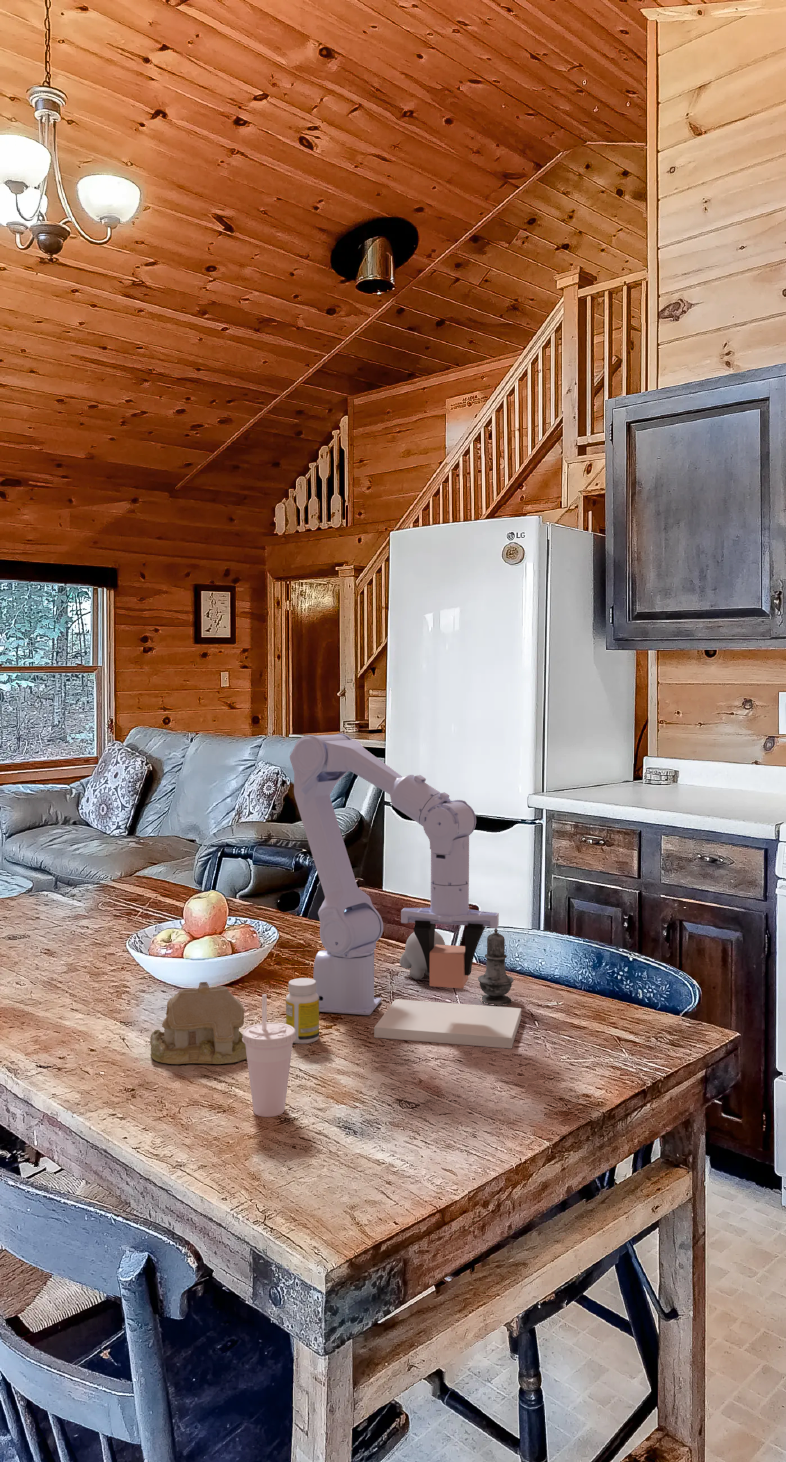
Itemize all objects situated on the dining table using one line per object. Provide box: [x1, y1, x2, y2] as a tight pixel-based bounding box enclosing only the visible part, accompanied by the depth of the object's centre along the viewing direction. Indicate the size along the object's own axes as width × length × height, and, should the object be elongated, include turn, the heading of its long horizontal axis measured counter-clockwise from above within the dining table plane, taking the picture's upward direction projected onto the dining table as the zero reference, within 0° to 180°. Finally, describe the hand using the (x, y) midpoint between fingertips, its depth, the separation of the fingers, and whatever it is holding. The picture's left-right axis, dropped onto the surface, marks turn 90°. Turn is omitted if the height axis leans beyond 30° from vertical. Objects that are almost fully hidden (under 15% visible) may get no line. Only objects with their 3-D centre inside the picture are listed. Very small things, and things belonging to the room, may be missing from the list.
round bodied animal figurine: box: [399, 930, 446, 980], centre depth 175 cm, size 7×12×8 cm, turn 34°
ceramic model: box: [149, 981, 247, 1065], centre depth 139 cm, size 14×11×10 cm
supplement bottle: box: [285, 977, 320, 1045], centre depth 145 cm, size 5×5×8 cm
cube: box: [429, 944, 469, 989], centre depth 149 cm, size 5×5×5 cm
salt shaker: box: [477, 927, 515, 1006], centre depth 163 cm, size 6×6×12 cm
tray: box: [373, 998, 522, 1049], centre depth 150 cm, size 20×14×2 cm
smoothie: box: [242, 993, 296, 1118], centre depth 119 cm, size 6×6×14 cm
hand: (449, 972), depth 150 cm, fingers closed on cube, 5 cm apart
